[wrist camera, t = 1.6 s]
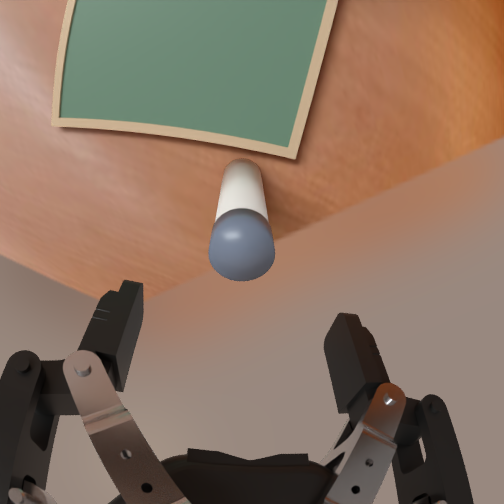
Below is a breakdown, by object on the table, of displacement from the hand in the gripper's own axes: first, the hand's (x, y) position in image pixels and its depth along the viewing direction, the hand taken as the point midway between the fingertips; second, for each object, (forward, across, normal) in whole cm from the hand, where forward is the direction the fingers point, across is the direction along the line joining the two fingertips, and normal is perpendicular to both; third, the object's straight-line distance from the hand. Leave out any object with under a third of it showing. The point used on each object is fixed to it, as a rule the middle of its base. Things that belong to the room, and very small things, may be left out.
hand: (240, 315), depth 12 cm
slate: (+16, +7, -11) cm, 21 cm away
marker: (+16, 0, 0) cm, 16 cm away
